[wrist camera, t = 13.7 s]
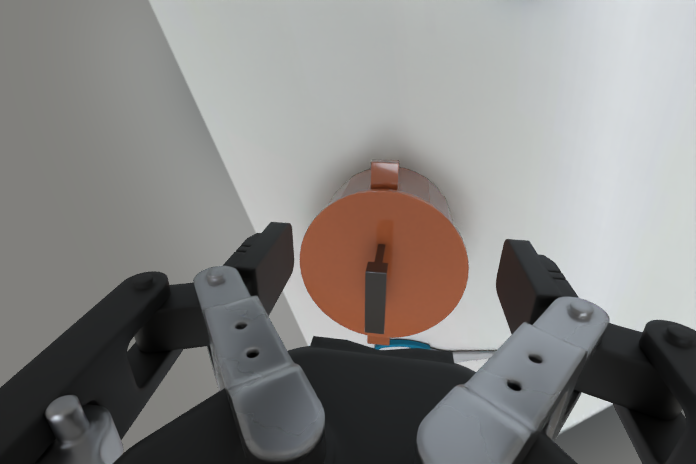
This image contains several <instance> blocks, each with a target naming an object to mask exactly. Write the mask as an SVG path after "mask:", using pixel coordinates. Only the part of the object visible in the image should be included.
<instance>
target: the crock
mask: <svg viewBox="0 0 696 464" xmlns="http://www.w3.org/2000/svg"><path fill="white" fill-rule="evenodd" d="M368 189H392V190H398V191H403V192H407V193H410V194H413V195H415V196H418V197H420V198H422V199H424V200H426V201H428V202H430V203H431V204H433V205H434V206H435V207H437V208H438V209H440V210H441V211H442V212H443V213H444V214H445V215H446V216H447V217H448V218H449V219H450V220H451V222H452V223H453V220H452V217H451V214H450V211H449V207H448V205H447V202H446V199H445V197H444V196H443V195H442V193H441V192H440V191H439V190H438V188H437V187H436V186H435V185H434V184H433V183H432V182H431V181H429V180H428V179H427V178H425V177H424V176H422V175H420V174H418V173H416V172H414V171H411V170H409V169H405V168H401V167H399V160H372V162H371V169H368V170H365V171H363V172H360V173H358V174H357V175H354V176H352V177H351V178H350V179H349V180H348V181H347V182H345V183H344V184H343V186H342V187H341V188H340V189H339V190H338V191H336V193H335V194H334V196H333V198H332V199H331V201H330V202H329V204H330V203H332V202H334V201H335V200H337V199H339V198H341V197H343V196H345V195H348V194H350V193H354V192H357V191H361V190H368ZM329 204H328V205H329ZM328 205H327V206H328ZM367 343H369V344H378V345H387V346H389V345H390V338H383V337H374V336H368V337H367Z"/></svg>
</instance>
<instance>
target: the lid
mask: <svg viewBox="0 0 696 464" xmlns="http://www.w3.org/2000/svg"><path fill="white" fill-rule="evenodd" d="M300 269H301V274H302V278H303V281H304V284H305V286H306V289H307V291H308V293H309V294H310V296H311V298H312V299H313V301H314V302H315V303H316V304H317V306H318V307H319V308H320V309H321V310H322V311H323V312H324V313H325V314H326V315H327V316H329V317H330V318H331V319H332V320H334V321H335V322H337V323H338V324H340V325H342V326H344V327H346V328H348V329H350V330H352V331H355V332H358V333H361V334H364V335H368V336H374V337H383V338H395V337H404V336H410V335H413V334H417V333H420V332H422V331H425V330H427V329H429V328H431V327H433V326H435V325H436V324H438V323H439V322H441V321H442V320H443V319H445V318H446V317H447V316H448V315H449V314H450V313H451V312H452V311H453V309H454V308H455V307H456V306H457V304H458V303H459V301H460V299H461V297H462V295H463V293H464V290H465V288H466V284H467V280H468V271H469V265H468V256H467V252H466V248H465V245H464V242H463V240H462V237H461V235H460V233H459V232H458V230H457V228H456V227H455V225H454V224H453V223H452V222H451V220H450V219H449V218H448V217H447V216H446V215H445V214H444V213H443V212H442V211H441V210H440V209H438V208H437V207H435V206H434V205H433V204H431V203H430V202H428V201H426V200H424V199H422V198H420V197H418V196H415V195H413V194H410V193H407V192H403V191H398V190H392V189H368V190H361V191H357V192H354V193H350V194H348V195H345V196H343V197H341V198H339V199H337V200H335V201H334V202H332V203H330V204H329V205H328V206H327V207H325V208H324V209H323V210H322V211H321V212H320V213H319V214H318V215H317V216H316V217H315V219H314V220H313V221H312V223H311V224H310V226H309V227H308V229H307V231H306V234H305V236H304V238H303V242H302V245H301V251H300Z"/></svg>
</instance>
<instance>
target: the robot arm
mask: <svg viewBox="0 0 696 464" xmlns="http://www.w3.org/2000/svg"><path fill="white" fill-rule="evenodd" d="M293 267H294V250H293V235H292V226H291V224H290V223H279V222H271V223H270V224H269V225H268V226H267V227H266V228H265V230H264V231H263V232H262V233H256V234H254V235H252V236H251V237H249V238H247V239H246V240H245V241H244V242H243V243H242V245H241V246H240V247H239V248H238V249H237V250H236V252H234V254H233V255H232V256H231V257H230V258H229V259H228V260H227V261H226V262H225V264H224V265H223V266H216V267H211V268H208V269H205V270H203V271H201V272H199V273H198V274H197V275H196V276H195V278H194V280H193V281H194V283H186V284H177V285H169V282H168V278H167V276H166V275H165V274H164V273H161V272H144V273H140V274H137V275H134V276H132V277H130V278H128V279H126V280H124V281H123V282H122V283H121V284H120V285H118V286H117V287H116V288H115V289H114V290H113V291H112V292H110V293H109V294H108V295H107V296H106V297H105V298H104V299H102V300H101V301H100V302H99V303H98V304H97V305H95V306H94V307H93V308H92V309H91V310H90V311H88V312H87V313H86V314H85V315H84V316H83V317H82V318H80V319H79V320H78V321H77V322H76V323H75V324H73V325H72V326H71V327H70V328H69V329H68V330H66V331H65V332H64V333H63V334H62V335H61V336H60V337H58V338H57V339H56V340H55V341H54V342H53V343H51V344H50V345H49V346H48V347H47V348H46V349H45V350H43V351H42V352H41V353H40V354H39V355H38V356H37V357H35V358H34V359H33V360H32V361H31V362H30V363H28V364H27V365H26V366H25V367H24V368H23V369H21V370H20V371H19V372H18V373H17V374H16V375H15V376H13V377H12V378H11V379H10V380H9V381H8V382H6V383H5V384H4V385H3V386H2V387H1V388H0V464H577V463H576V462H575V461H574V460H573V459H572V458H571V457H570V456H569V455H567V453H565V452H564V451H563V450H562V449H561V448H560V447H559V446H558V445H557V444H556V443H555V440H556V438H557V436H558V434H559V432H560V430H561V428H562V427H563V425H564V423H565V421H566V420H567V418H568V416H569V414H570V413H571V411H572V409H573V407H574V406H575V404H576V402H577V400H578V399H579V397H580V395H581V392H582V393H585V394H588V395H591V396H594V397H597V398H600V399H603V400H605V401H608V402H611V403H613V405H614V407H615V410H616V412H617V414H618V415H619V418H620V420H621V422H622V424H623V425H624V428H625V430H626V432H627V434H628V435H629V438H630V440H631V441H632V444H633V446H634V447H635V450H636V452H637V454H638V456H639V458H640V460H641V461H642V464H696V331H695V330H693V329H691V328H689V327H686V326H684V325H681V324H678V323H675V322H671V321H665V320H653V321H650V322H648V323H647V324H646V326H645V328H644V331H643V332H639V331H635V330H632V329H628V328H624V327H621V326H617V325H614V324H611V323H609V321H610V320H609V316H608V314H607V313H606V312H605V311H604V310H603V309H602V308H600V307H599V306H597V305H596V304H594V303H592V302H589V301H587V300H584V299H580V298H579V297H578V296H577V294H576V293H575V291H574V290H573V288H572V287H571V285H570V284H569V283H568V281H567V280H566V278H565V277H564V275H563V274H562V273H561V271H560V269H559V268H558V266H557V265H556V264H555V263H554V262H553V261H552V260H550V259H549V258H547V257H546V256H544V255H538V254H537V253H536V251H535V249H534V248H533V246H532V245H531V243H530V242H529V241H525V240H511V239H506V240H505V242H504V245H503V250H502V254H501V259H500V264H499V269H498V273H497V279H496V290H497V294H498V297H499V300H500V303H501V306H502V308H503V311H504V314H505V317H506V320H507V322H508V325H509V328H510V331H511V334H512V335H511V336H510V337H509V338H508V339H507V340H506V341H505V342H504V344H503V345H502V346H501V347H500V348H499V349H498V350H497V351H496V352H495V353H494V354H493V355H492V356H491V357H490V358H489V359H488V361H487V362H486V363H485V364H484V365H483V366H482V367H481V368H480V369H479V370H478V371H477V372H474V371H473V370H471V369H469V368H466V367H464V366H462V365H459V364H456V363H454V359H453V352H449V351H440V350H431V349H422V348H409V349H396V350H377V349H374V348H371V347H367V346H364V345H361V344H358V343H355V342H351V341H348V340H343V339H334V338H325V337H316V336H313V339H312V342H311V345H310V346H306V347H300V348H296V349H292V350H289V351H287V350H286V348H285V346H284V344H283V342H282V340H281V338H280V337H279V335H278V333H277V331H276V329H275V327H274V326H273V324H272V322H271V320H270V318H269V314H270V312H271V311H272V309H273V307H274V305H275V303H276V302H277V300H278V298H279V296H280V294H281V292H282V291H283V289H284V287H285V285H286V283H287V281H288V280H289V278H290V276H291V274H292V271H293ZM133 337H135V340H136V342H135V344H134V345H133V346H132V347H131V348H130V349H129V351H128V352H127V348H128V345H129V343H130V341H131V339H132V338H133ZM203 346H207V349H208V353H209V357H210V360H211V364H212V367H213V371H214V375H215V378H216V382H217V385H218V389H219V392H218V393H216V394H214V395H213V396H211V397H210V398H208V399H206V400H205V401H203V402H201V403H200V404H198V405H197V406H195V407H193V408H192V409H190V410H189V411H187V412H186V413H184V414H182V415H181V416H179V417H178V418H176V419H174V420H173V421H171V422H170V423H168V424H166V425H165V426H163V427H162V428H160V429H159V430H157V431H155V432H154V433H152V434H150V435H149V436H147V437H146V438H144V439H142V440H141V441H139V442H138V443H136V444H135V445H134V446H132V447H131V448H129V449H128V450H127V451H126V452H124V453H123V445H122V442H121V440H122V438H123V437H124V435H125V434H126V432H127V431H128V430H129V428H130V427H131V425H132V424H133V422H134V421H135V419H136V418H137V416H138V415H139V414H140V412H141V411H142V409H143V408H144V406H145V405H146V403H147V402H148V400H149V399H150V397H151V396H152V395H153V393H154V392H155V390H156V389H157V387H158V386H159V384H160V383H161V381H162V380H163V378H164V377H165V375H166V374H167V373H168V371H169V370H170V368H171V367H172V365H173V364H174V363H175V361H176V359H177V358H178V357H179V355H180V354H181V352H182V351H183V349H187V348H194V347H203ZM682 409H683V411H684V413H685V417H686V418H685V417H684V415H683V414H682V413H681V411H682Z"/></svg>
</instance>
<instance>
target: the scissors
mask: <svg viewBox="0 0 696 464" xmlns="http://www.w3.org/2000/svg"><path fill="white" fill-rule="evenodd" d="M385 347H409V348H422V349H431V348H430V345H427V344H424V343H420V342H416V341H410V340H390V345H389V346H387V345H378V344H376V345H375V348H374V349H377V350H379V349H380V348H385ZM431 350H436V349H431ZM495 352H496V351H482V352H453V359H454V363H455V362H464V361H472V360H480V359H488V358H490V357H491V356H492V355H493V354H494V353H495Z"/></svg>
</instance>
